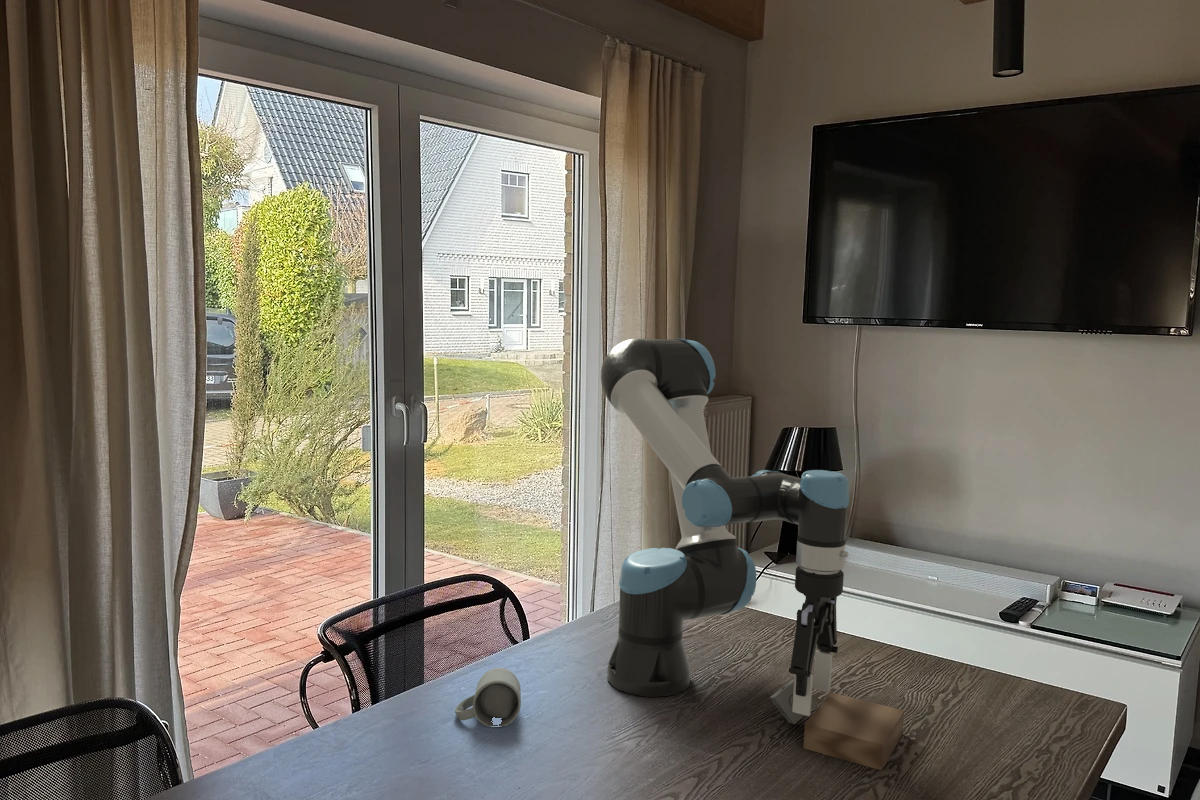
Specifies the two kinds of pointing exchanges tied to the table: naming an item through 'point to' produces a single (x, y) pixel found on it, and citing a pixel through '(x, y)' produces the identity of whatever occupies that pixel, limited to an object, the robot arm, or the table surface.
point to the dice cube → (788, 702)
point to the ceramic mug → (493, 699)
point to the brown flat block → (854, 730)
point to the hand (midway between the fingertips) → (811, 701)
